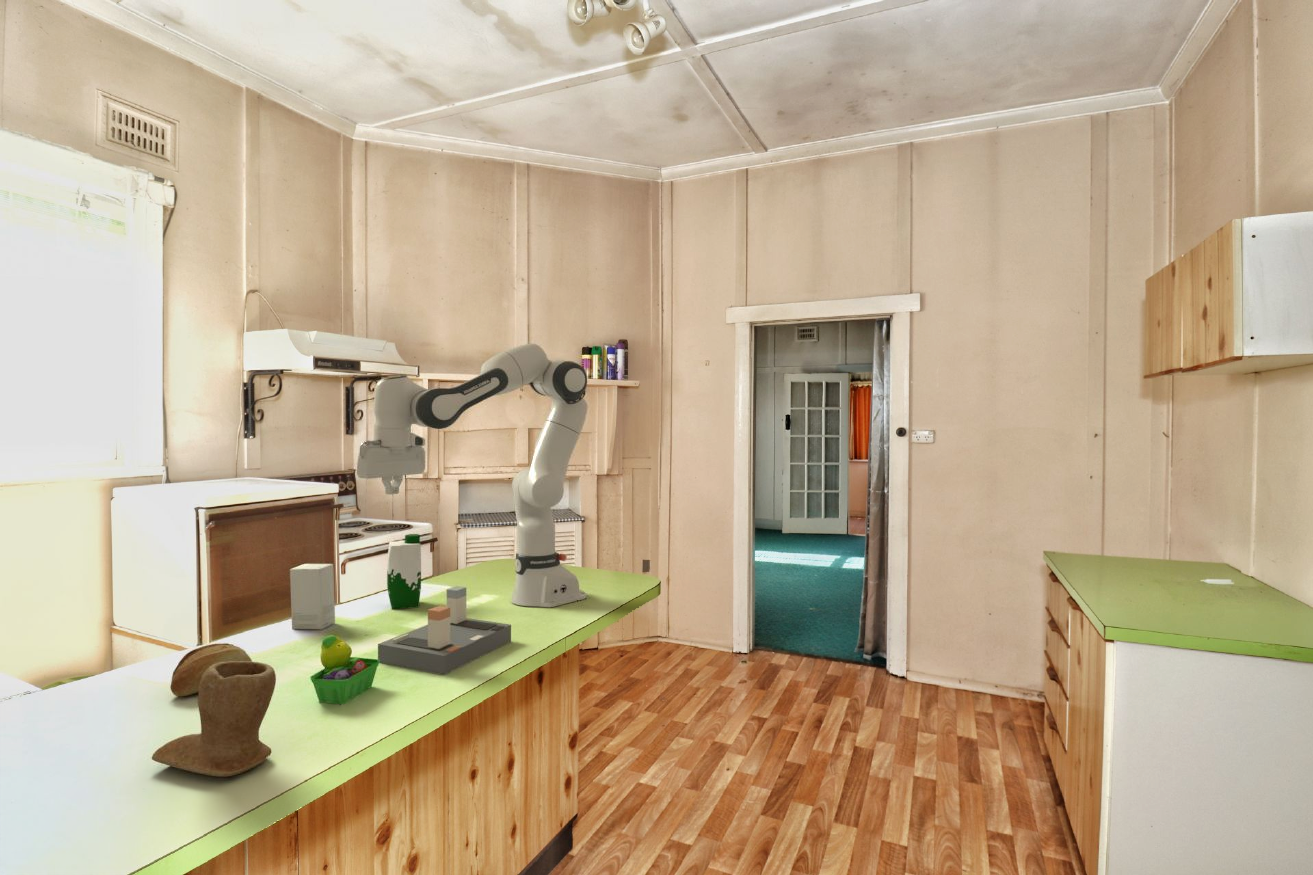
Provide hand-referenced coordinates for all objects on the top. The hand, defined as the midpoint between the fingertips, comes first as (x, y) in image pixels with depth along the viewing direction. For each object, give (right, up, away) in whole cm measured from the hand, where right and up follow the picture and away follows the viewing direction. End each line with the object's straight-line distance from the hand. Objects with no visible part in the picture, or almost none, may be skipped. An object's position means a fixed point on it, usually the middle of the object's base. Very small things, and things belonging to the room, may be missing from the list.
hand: (392, 494), depth 171 cm
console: (+19, -35, -17) cm, 43 cm away
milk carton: (-5, -34, +21) cm, 40 cm away
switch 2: (+19, -30, -8) cm, 36 cm away
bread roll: (-20, -35, -39) cm, 56 cm away
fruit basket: (+7, -35, -42) cm, 55 cm away
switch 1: (+20, -31, -26) cm, 45 cm away
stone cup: (+1, -36, -68) cm, 77 cm away
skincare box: (-20, -34, 0) cm, 40 cm away
